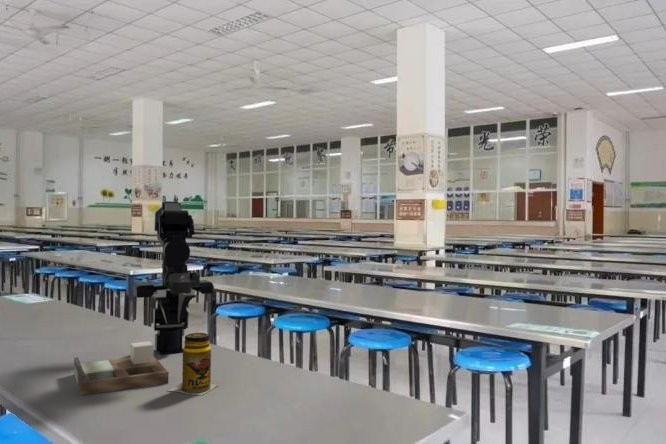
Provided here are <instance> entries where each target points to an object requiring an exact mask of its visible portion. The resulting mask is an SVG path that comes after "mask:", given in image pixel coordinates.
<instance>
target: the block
mask: <svg viewBox="0 0 666 444" xmlns="http://www.w3.org/2000/svg"><path fill="white" fill-rule="evenodd" d="M129 349H130V350H129V351H130V353H129V355H130V357H129V358H130V360H131V361H132V363H133V364H140V363H149V362H153V356H154V353H155V352H154V350H155V344H153V343H152V342H151V341H150V340H149V341H139V342H138V341H137V342H131V343H130V348H129Z"/></svg>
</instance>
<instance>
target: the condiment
mask: <svg viewBox="0 0 666 444" xmlns="http://www.w3.org/2000/svg"><path fill="white" fill-rule="evenodd" d="M210 338H211V337H210V334H208V333H205V332H192V333H188V334H186V335H185V336H184V347H182V348H183V352H182V374H181V375H182V382H181V383H179V384H178V385H175V386H173V387H171V388H170V389H168V390H167V392H169V391H170V392H176V393H182V394H188V395H193V396H195V395H196V396H203V395H204V394H207V393H208V392H210V391H211V390H213V389H215V387H217V386H218V384H215V383H211V382H212V373H211V372H212V347H211V345H210Z"/></svg>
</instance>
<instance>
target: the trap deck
mask: <svg viewBox="0 0 666 444" xmlns="http://www.w3.org/2000/svg"><path fill="white" fill-rule="evenodd" d="M80 361H81V360H80V359H79V357H73V376H74V378H75V381H76V385H77V387H78V390H79V394H80V395H81V396H85V395H91V394H99V393H107V392H115V391H121V390H128V389H136V388H143V387H148V386H149V387H150V386H155V385H163V384H164V385H165V384H169V371H168V370H167V368H166V367H164V365H163V364H162V363H161V362H160V361H159V359H157V358H156V357H155V356H154V355H153V362H149V363H140V364H133V363H132V361H131V360H130V357H126V358H125V357H124V358H115V359H107V360H106V359H105V360H99V361H98V360H97V361H90V362H89V361H88V362H80Z"/></svg>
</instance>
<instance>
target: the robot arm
mask: <svg viewBox="0 0 666 444" xmlns="http://www.w3.org/2000/svg"><path fill="white" fill-rule="evenodd" d="M181 204H182V203H181V202H179V201H168V200H167V201H163V202H161V207H159V209H157V210H156V211H155V212H154V232H156V240H158V242H159V244H161V245H160V246H162V261H161V262H162V263H161V269H162V270H161V273H162V274H161V275H162V276H161V285H154V284H152V283H151V282H137V283H134V285H133V286H132V295H133V296H134V297H135V298H138V299H139V298H140V299H141V298H142V299H143V298H152V299H154V300H155V301H156V303H157V304H156V307H155V308H154V310H153V312H154V313H153V315H154V316H153V331H154V332H156V333H155V335H154V350H155V351H156V352H157V353H158V354H159V355H166V354H174V353H176V354H177V353H183V348H184V347H183V330H186V329H188V328H189V315H190V312H189V311H188V310H187V307H188V305H189V304H190V302H191V301H192V299H196V297H197V295H196V294H195V293H196V292H199V293H200V294H202V295H208V294H209V295H211V294H214V292H215V285H214V283H213V282H212V281H209V280H207V279H204V280H203V279H201V274H200V273H199V272H191V273H189V272H188V271H189V270H188V265H187V261H188V259H189V257H190V255H191V249H190V246H189V245H188V242H187V241H186V240H187V239H192V238H193V236H194V235H195V224H194V222H195V221H194V218H193V217H192V215H191V214H189V210H186V209H185V210H184V209H182V208H181V207H182V205H181Z"/></svg>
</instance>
